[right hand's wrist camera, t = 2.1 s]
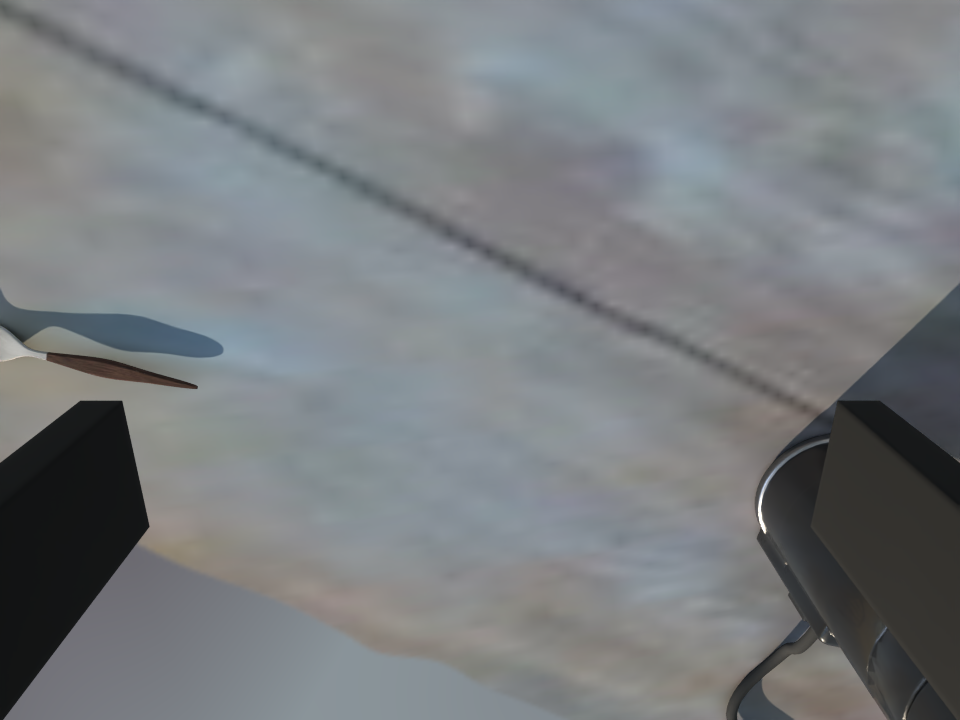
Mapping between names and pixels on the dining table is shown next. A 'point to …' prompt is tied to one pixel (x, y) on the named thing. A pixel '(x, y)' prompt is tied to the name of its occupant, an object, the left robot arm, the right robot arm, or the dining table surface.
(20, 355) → the fork
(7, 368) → the dining table surface
